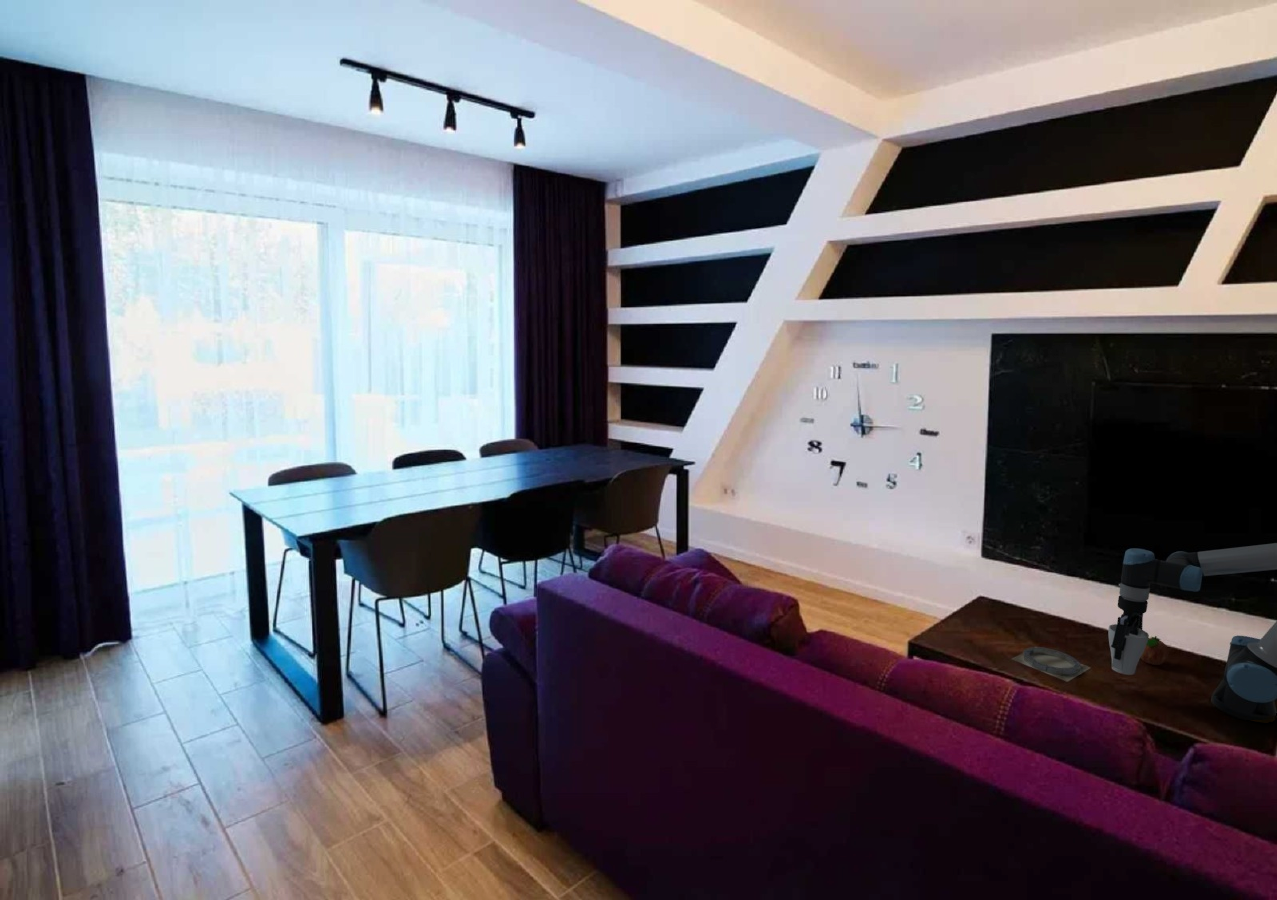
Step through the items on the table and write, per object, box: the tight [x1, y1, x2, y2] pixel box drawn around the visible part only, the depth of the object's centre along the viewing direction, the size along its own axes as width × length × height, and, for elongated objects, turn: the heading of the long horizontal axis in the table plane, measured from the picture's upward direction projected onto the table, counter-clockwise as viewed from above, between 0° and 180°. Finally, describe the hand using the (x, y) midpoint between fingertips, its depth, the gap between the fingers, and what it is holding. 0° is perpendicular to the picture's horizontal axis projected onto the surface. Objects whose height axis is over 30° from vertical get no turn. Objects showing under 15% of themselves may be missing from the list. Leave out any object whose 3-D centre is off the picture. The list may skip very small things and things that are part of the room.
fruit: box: [1140, 635, 1169, 666], centre depth 241 cm, size 9×10×10 cm
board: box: [1011, 652, 1092, 682], centre depth 235 cm, size 18×18×1 cm
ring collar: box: [1022, 646, 1081, 675], centre depth 235 cm, size 16×16×2 cm
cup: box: [1107, 623, 1150, 676], centre depth 219 cm, size 10×10×14 cm
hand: (1124, 663), depth 220 cm, fingers closed on cup, 10 cm apart
